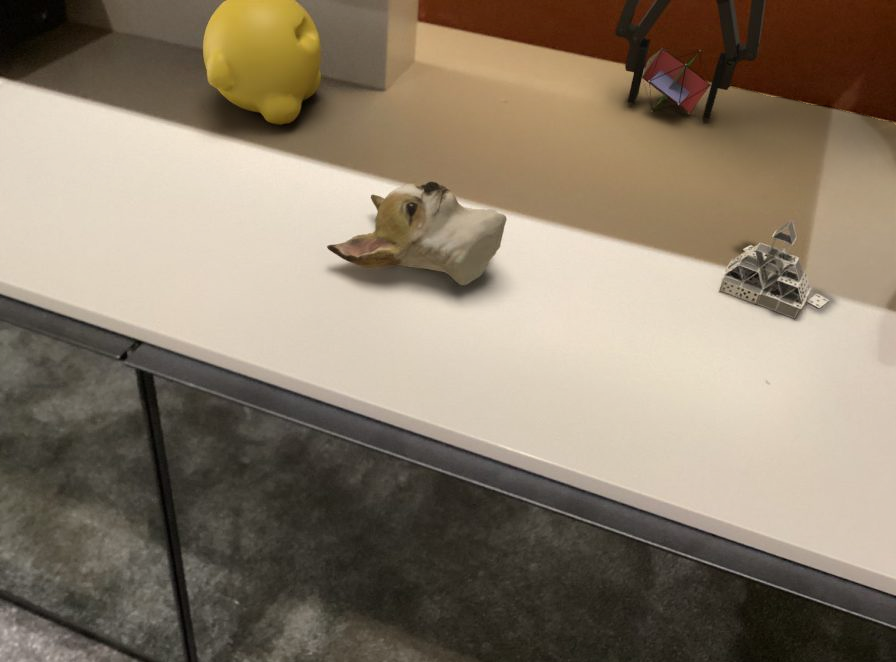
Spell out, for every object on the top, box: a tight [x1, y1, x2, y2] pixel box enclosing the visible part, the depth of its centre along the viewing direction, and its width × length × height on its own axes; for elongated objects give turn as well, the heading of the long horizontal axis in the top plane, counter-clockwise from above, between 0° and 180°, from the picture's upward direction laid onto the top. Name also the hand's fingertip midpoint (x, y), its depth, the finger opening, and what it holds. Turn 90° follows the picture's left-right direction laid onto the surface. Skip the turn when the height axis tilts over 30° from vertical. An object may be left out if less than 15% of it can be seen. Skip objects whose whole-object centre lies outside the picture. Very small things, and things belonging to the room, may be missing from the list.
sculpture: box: [202, 0, 322, 126], centre depth 104 cm, size 15×13×13 cm
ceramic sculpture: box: [326, 181, 507, 286], centre depth 86 cm, size 11×9×15 cm
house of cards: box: [718, 219, 830, 320], centre depth 85 cm, size 9×9×8 cm
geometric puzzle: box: [642, 47, 712, 115], centre depth 108 cm, size 7×7×8 cm
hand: (669, 105), depth 110 cm, fingers closed on geometric puzzle, 8 cm apart
